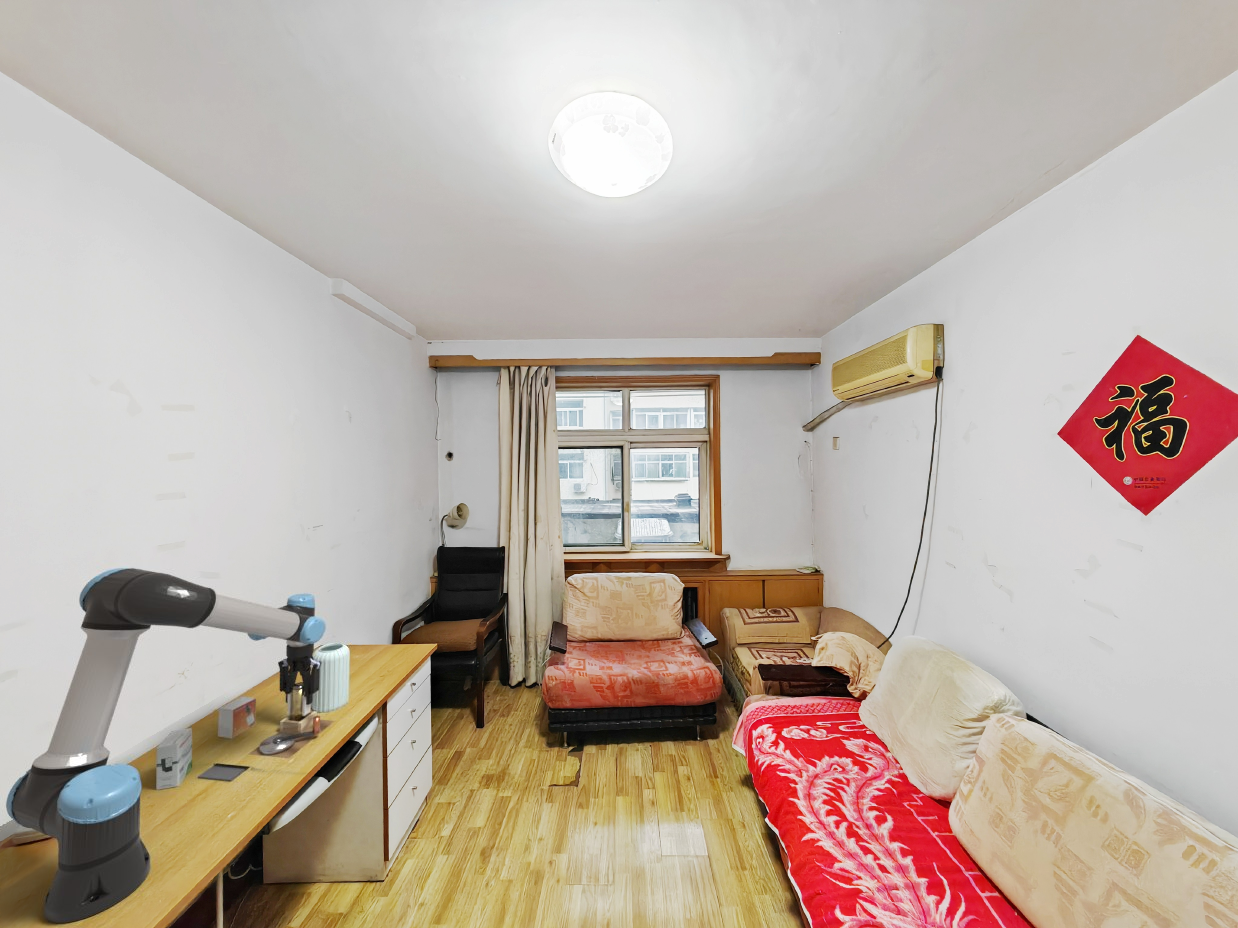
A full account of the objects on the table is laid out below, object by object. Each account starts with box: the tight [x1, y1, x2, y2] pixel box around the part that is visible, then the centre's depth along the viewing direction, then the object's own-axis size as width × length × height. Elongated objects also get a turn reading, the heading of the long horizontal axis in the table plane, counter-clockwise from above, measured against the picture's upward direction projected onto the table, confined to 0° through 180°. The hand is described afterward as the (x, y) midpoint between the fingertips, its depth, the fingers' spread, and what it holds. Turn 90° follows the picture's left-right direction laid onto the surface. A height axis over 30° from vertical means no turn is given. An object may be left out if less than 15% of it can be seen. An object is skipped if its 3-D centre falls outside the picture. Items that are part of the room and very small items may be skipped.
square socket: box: [279, 710, 318, 734], centre depth 159 cm, size 7×7×4 cm
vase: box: [311, 642, 351, 713], centre depth 173 cm, size 12×12×22 cm
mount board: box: [248, 719, 335, 759], centre depth 153 cm, size 20×13×2 cm, turn 175°
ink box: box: [155, 727, 193, 790], centre depth 135 cm, size 9×5×12 cm, turn 21°
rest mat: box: [197, 762, 251, 782], centre depth 140 cm, size 10×10×1 cm
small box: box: [217, 695, 257, 739], centre depth 156 cm, size 8×6×10 cm
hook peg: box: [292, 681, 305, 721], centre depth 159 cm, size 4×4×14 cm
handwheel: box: [258, 715, 321, 754], centre depth 150 cm, size 9×16×6 cm, turn 120°
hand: (298, 712), depth 159 cm, fingers open, 4 cm apart
